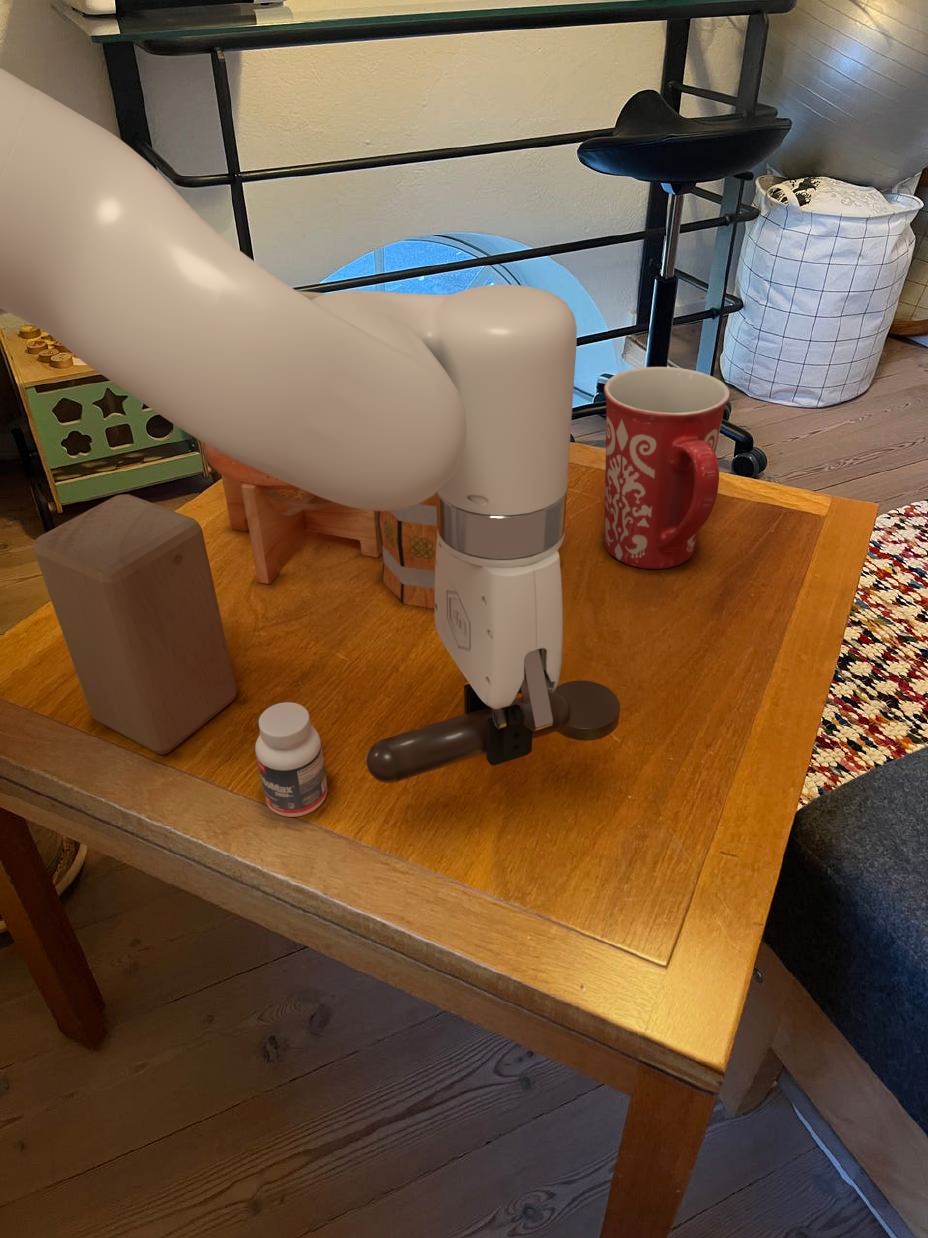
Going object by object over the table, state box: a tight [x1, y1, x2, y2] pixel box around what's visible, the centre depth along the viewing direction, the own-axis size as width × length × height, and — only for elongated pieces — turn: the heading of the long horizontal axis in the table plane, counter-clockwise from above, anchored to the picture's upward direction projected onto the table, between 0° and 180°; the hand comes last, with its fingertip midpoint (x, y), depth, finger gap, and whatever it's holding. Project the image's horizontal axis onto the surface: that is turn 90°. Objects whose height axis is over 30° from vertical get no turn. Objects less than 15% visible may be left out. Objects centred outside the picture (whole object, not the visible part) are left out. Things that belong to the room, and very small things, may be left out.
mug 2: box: [603, 366, 731, 570], centre depth 100 cm, size 18×13×20 cm
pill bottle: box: [254, 701, 328, 818], centre depth 75 cm, size 5×5×9 cm
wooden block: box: [32, 493, 238, 755], centre depth 80 cm, size 10×10×20 cm
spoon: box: [365, 679, 621, 784], centre depth 63 cm, size 19×5×3 cm, turn 113°
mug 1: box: [378, 493, 437, 610], centre depth 100 cm, size 20×14×15 cm
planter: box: [202, 290, 383, 585], centre depth 102 cm, size 20×20×27 cm
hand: (497, 738), depth 64 cm, fingers closed on spoon, 3 cm apart
